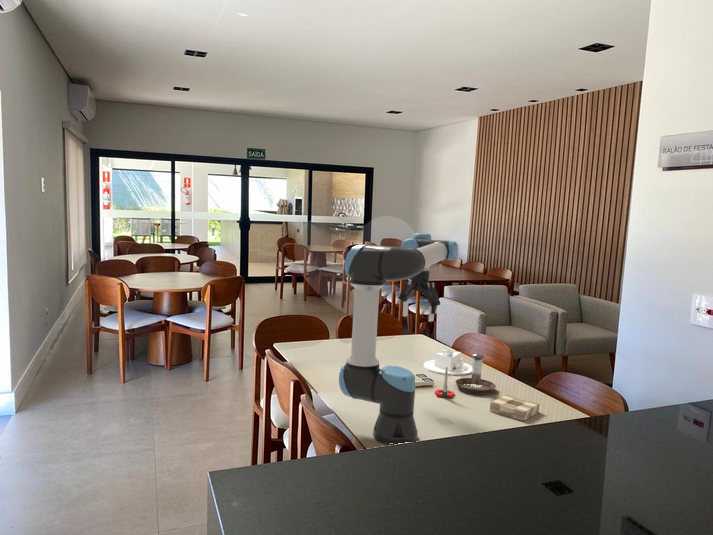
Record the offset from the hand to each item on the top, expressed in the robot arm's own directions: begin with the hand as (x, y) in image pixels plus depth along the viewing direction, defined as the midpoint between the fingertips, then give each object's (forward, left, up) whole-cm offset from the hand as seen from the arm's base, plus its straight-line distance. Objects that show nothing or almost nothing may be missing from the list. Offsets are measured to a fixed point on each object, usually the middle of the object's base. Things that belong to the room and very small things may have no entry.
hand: (417, 318), depth 230 cm
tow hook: (+6, -12, -32) cm, 35 cm away
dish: (+42, +9, -32) cm, 54 cm away
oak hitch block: (+10, -42, -32) cm, 54 cm away
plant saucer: (+23, -17, -32) cm, 43 cm away
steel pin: (+23, -17, -29) cm, 41 cm away
